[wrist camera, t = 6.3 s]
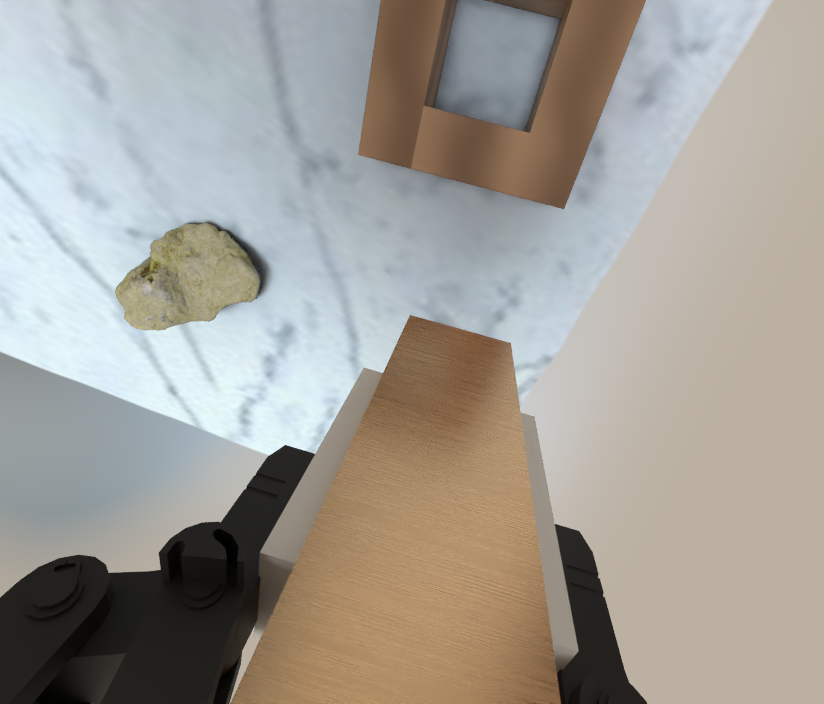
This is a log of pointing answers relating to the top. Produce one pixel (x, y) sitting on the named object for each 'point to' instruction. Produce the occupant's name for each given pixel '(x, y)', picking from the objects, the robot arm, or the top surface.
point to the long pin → (420, 548)
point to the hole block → (482, 141)
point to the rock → (188, 278)
